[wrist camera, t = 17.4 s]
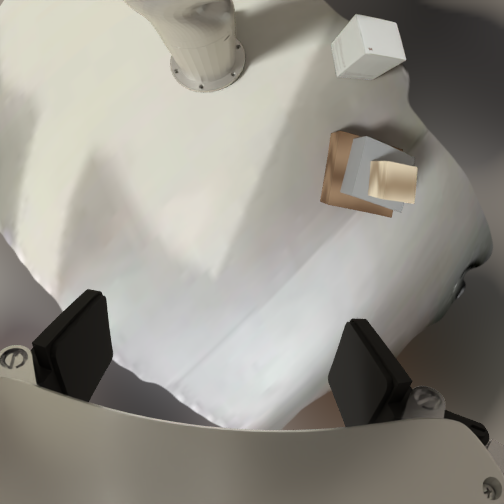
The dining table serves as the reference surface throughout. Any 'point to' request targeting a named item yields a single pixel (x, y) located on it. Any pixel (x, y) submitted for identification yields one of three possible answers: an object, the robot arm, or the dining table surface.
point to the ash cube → (392, 181)
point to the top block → (360, 169)
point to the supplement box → (367, 48)
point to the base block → (335, 176)
